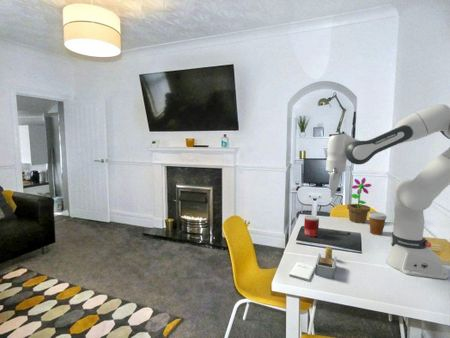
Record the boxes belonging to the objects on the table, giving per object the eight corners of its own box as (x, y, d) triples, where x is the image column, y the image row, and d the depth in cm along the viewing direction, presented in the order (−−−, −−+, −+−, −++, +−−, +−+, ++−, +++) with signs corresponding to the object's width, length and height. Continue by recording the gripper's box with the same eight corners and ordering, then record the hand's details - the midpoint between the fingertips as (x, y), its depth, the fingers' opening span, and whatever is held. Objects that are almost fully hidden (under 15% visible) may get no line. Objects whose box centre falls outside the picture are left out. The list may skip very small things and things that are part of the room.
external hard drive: (289, 277, 111) (296, 264, 122) (308, 283, 107) (315, 269, 118) (289, 273, 111) (297, 261, 122) (309, 279, 107) (315, 265, 118)
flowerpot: (371, 220, 182) (374, 178, 178) (366, 225, 171) (369, 180, 167) (349, 216, 191) (352, 175, 187) (343, 221, 181) (346, 178, 176)
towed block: (334, 258, 127) (334, 248, 126) (331, 275, 111) (331, 264, 110) (323, 255, 129) (323, 246, 128) (318, 272, 113) (319, 261, 113)
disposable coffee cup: (368, 234, 156) (369, 215, 155) (366, 229, 165) (367, 210, 163) (386, 237, 153) (388, 217, 151) (383, 231, 162) (385, 212, 160)
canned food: (319, 238, 151) (319, 219, 150) (304, 237, 153) (305, 218, 151) (317, 233, 159) (318, 215, 157) (303, 232, 160) (304, 214, 159)
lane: (336, 266, 119) (336, 256, 119) (334, 279, 109) (334, 269, 108) (318, 262, 123) (319, 253, 122) (315, 274, 112) (315, 264, 112)
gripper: (342, 170, 115) (339, 200, 117) (343, 165, 133) (341, 191, 135) (326, 169, 118) (324, 199, 120) (330, 164, 136) (328, 190, 138)
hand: (333, 195), depth 128 cm, fingers open, 8 cm apart
